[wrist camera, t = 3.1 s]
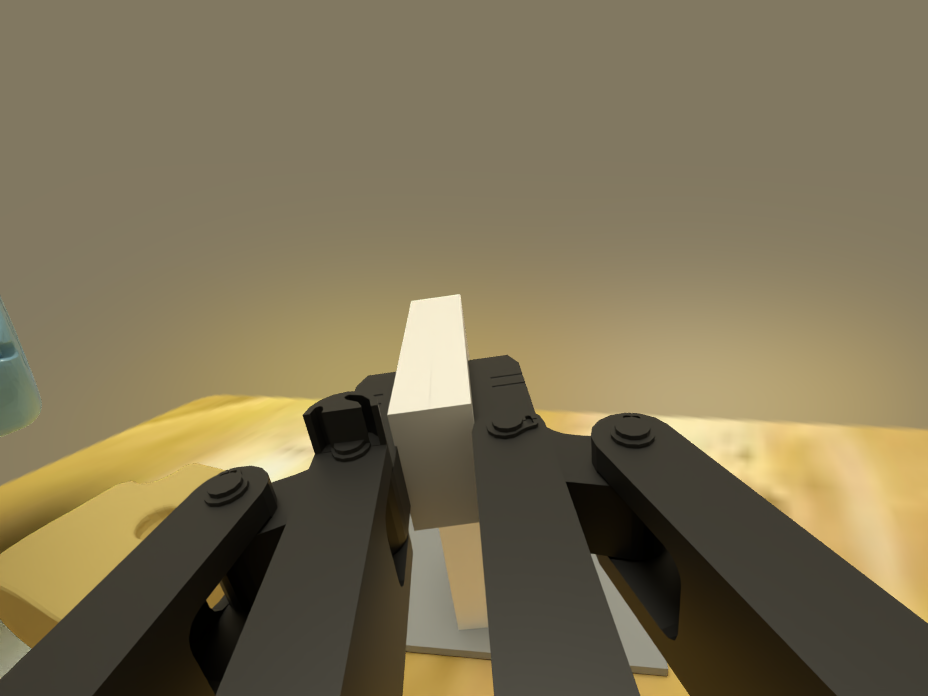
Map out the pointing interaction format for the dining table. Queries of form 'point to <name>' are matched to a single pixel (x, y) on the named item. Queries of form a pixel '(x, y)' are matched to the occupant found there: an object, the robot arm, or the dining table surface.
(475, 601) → the tall block
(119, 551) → the cheese
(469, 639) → the slate mat
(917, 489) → the dining table surface
